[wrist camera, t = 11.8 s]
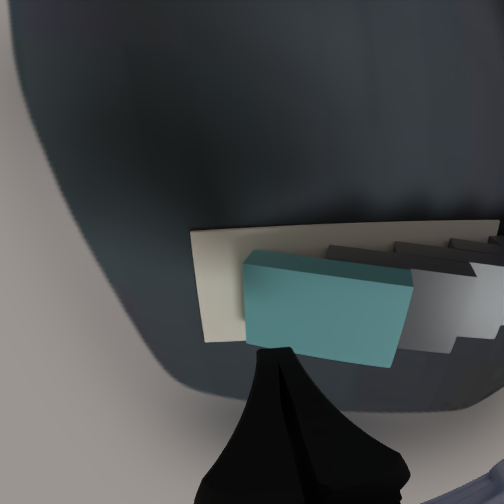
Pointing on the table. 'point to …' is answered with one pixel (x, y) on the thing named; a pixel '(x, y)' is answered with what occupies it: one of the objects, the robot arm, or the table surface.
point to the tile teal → (325, 306)
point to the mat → (303, 244)
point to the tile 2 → (424, 295)
